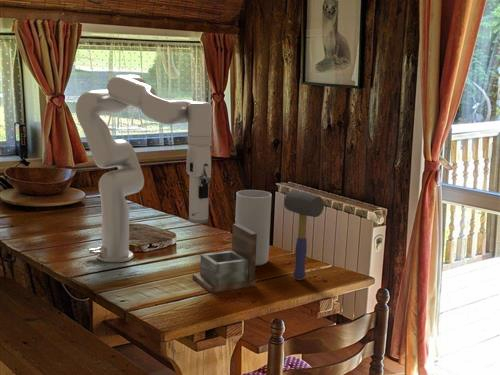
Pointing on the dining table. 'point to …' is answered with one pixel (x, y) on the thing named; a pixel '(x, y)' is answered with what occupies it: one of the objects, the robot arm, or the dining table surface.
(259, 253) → the cylinder vase
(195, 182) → the travel mug
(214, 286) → the post holder
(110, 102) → the robot arm
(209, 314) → the dining table surface
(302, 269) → the rubber mallet
